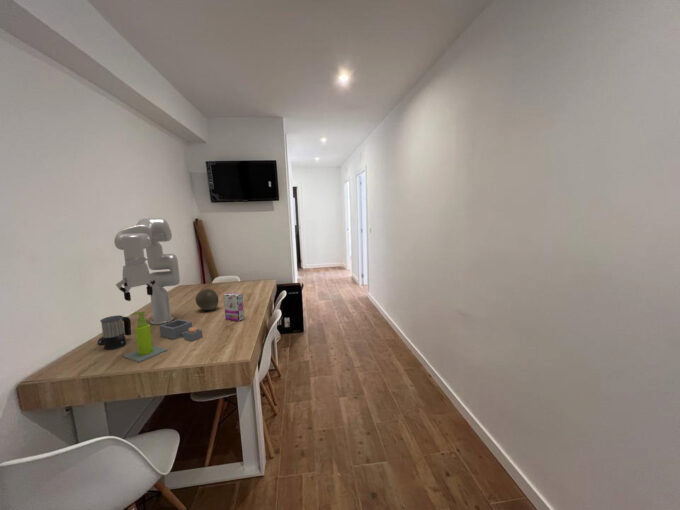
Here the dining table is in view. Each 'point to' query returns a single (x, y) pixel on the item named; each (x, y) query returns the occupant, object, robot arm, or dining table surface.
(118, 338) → the milk frother
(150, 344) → the soap dispenser
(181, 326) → the holder
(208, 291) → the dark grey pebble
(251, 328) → the dining table surface
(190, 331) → the tan ball
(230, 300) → the candy bar box
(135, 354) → the mat
